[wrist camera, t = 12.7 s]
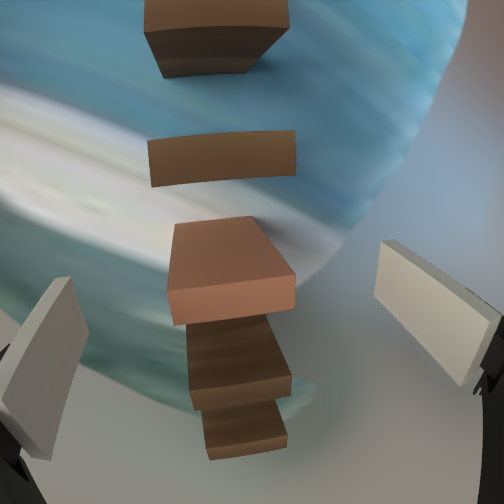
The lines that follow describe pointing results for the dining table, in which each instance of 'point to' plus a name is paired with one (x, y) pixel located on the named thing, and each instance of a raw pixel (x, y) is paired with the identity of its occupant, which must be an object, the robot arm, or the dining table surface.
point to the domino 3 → (226, 272)
